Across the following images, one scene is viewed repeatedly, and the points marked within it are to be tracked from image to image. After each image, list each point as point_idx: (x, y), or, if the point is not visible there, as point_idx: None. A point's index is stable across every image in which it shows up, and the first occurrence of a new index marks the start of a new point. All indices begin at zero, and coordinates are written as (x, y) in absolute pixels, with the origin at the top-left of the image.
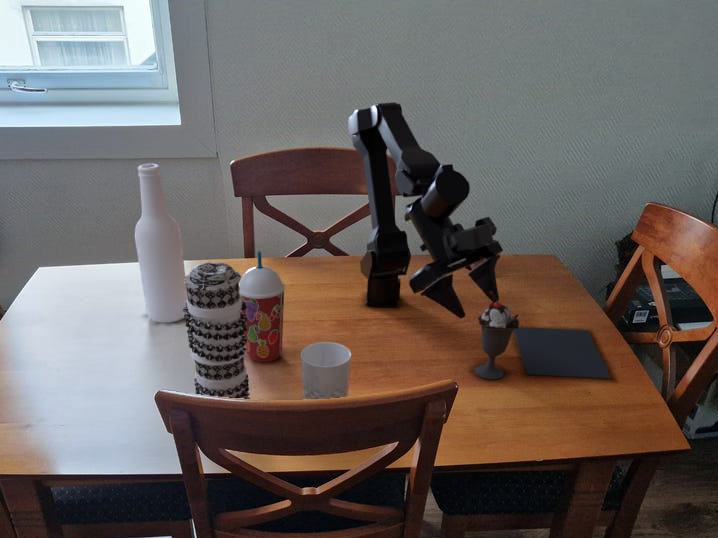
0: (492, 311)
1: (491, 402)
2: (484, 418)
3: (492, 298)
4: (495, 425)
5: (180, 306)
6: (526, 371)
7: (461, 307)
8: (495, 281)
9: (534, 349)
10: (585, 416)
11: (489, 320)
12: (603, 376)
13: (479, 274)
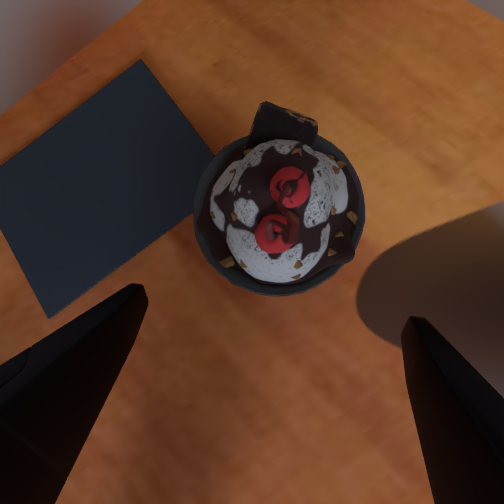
0: (316, 209)
1: (395, 175)
2: (466, 151)
3: (138, 315)
4: (471, 121)
5: None
6: None
7: (443, 352)
8: (40, 344)
9: (121, 225)
10: (302, 27)
11: (330, 218)
12: (143, 72)
13: (15, 489)
